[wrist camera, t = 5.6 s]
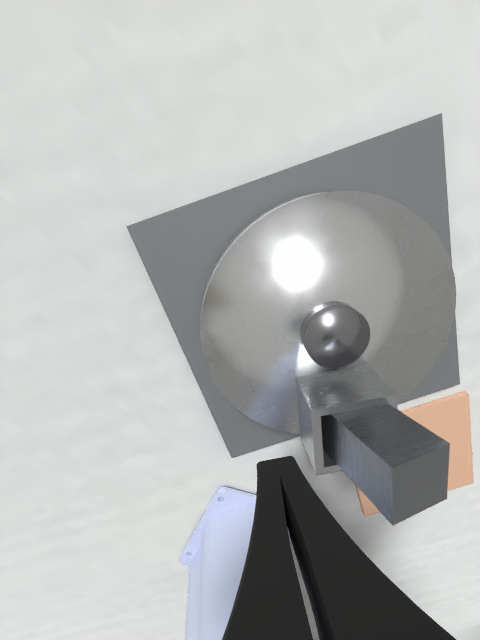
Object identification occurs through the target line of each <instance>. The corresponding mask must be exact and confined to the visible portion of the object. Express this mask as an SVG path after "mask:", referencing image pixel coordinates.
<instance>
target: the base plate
mask: <svg viewBox="0 0 480 640" xmlns="http://www.w3.org/2000/svg"><path fill="white" fill-rule="evenodd" d="M334 191H358V192H366V193H371V194H376V195H380V196H383V197H386V198H388V199H391V200H394V201H396V202H399V203H400V204H402V205H404V206H405V207H407V208H409V209H411V210H412V211H414V212H415V213H416V214H417V215H418V216H420V217H421V218H422V219H423V220H424V221H426V222H427V224H428V225H429V226H430V227H431V228H432V229H433V230H434V232H435V233H436V234H437V236H438V237H439V239H440V240H441V242H442V244H443V245H444V247H445V249H446V251H447V254H448V256H449V259H450V261H451V264H452V259H451V244H450V229H449V214H448V199H447V184H446V169H445V154H444V139H443V124H442V113H441V114H439V115H436V116H433V117H430V118H427V119H425V120H422V121H419V122H416V123H413V124H411V125H408V126H405V127H402V128H400V129H397V130H394V131H391V132H388V133H386V134H383V135H380V136H377V137H374V138H372V139H369V140H366V141H363V142H361V143H358V144H355V145H352V146H349V147H347V148H344V149H341V150H338V151H335V152H333V153H330V154H327V155H324V156H322V157H319V158H316V159H313V160H310V161H308V162H305V163H302V164H299V165H297V166H294V167H291V168H288V169H285V170H283V171H280V172H277V173H274V174H271V175H269V176H266V177H263V178H260V179H258V180H255V181H252V182H249V183H246V184H244V185H241V186H238V187H235V188H232V189H230V190H227V191H224V192H221V193H219V194H216V195H213V196H210V197H207V198H205V199H202V200H199V201H196V202H193V203H191V204H188V205H185V206H182V207H180V208H177V209H174V210H171V211H168V212H166V213H163V214H160V215H157V216H155V217H152V218H149V219H146V220H143V221H141V222H138V223H135V224H132V225H129V226H127V229H128V231H129V233H130V235H131V237H132V240H133V242H134V244H135V246H136V248H137V251H138V253H139V255H140V257H141V259H142V262H143V264H144V266H145V268H146V270H147V273H148V275H149V277H150V279H151V281H152V284H153V286H154V288H155V290H156V292H157V295H158V297H159V299H160V301H161V303H162V306H163V308H164V310H165V312H166V314H167V317H168V319H169V321H170V323H171V325H172V328H173V330H174V332H175V334H176V336H177V339H178V341H179V343H180V345H181V347H182V350H183V352H184V354H185V356H186V358H187V361H188V363H189V365H190V367H191V369H192V372H193V374H194V376H195V378H196V380H197V383H198V385H199V387H200V389H201V391H202V394H203V396H204V398H205V400H206V402H207V405H208V407H209V409H210V411H211V413H212V416H213V418H214V420H215V422H216V424H217V427H218V429H219V431H220V433H221V435H222V438H223V440H224V442H225V444H226V446H227V449H228V451H229V453H230V455H231V457H232V458H233V457H236V456H239V455H242V454H245V453H248V452H251V451H254V450H258V449H261V448H264V447H267V446H270V445H273V444H276V443H279V442H282V441H285V440H288V439H292V438H295V437H298V436H301V434H298V433H290V432H285V431H280V430H276V429H273V428H270V427H267V426H264V425H262V424H260V423H258V422H256V421H254V420H252V419H250V418H249V417H247V416H246V415H244V414H243V413H241V412H240V411H239V410H238V409H236V408H235V407H234V406H233V405H232V404H231V403H230V402H229V401H228V400H227V399H226V398H225V397H224V396H223V394H222V393H221V392H220V390H219V389H218V387H217V386H216V384H215V383H214V381H213V379H212V377H211V375H210V373H209V371H208V369H207V366H206V363H205V359H204V356H203V352H202V345H201V338H200V320H201V310H202V303H203V296H204V291H205V288H206V284H207V281H208V278H209V276H210V273H211V271H212V269H213V267H214V264H215V262H216V261H217V259H218V257H219V256H220V254H221V253H222V251H223V249H224V248H225V247H226V245H227V244H228V243H229V242H230V241H231V239H232V238H233V237H234V236H235V235H236V234H237V233H238V232H239V231H240V230H241V229H242V228H243V227H244V226H245V225H246V224H247V223H248V222H250V221H251V220H252V219H254V218H255V217H257V216H258V215H259V214H261V213H262V212H264V211H266V210H268V209H269V208H271V207H273V206H275V205H277V204H279V203H281V202H284V201H287V200H289V199H292V198H295V197H299V196H303V195H307V194H312V193H322V192H334ZM458 384H460V380H459V365H458V350H457V335H456V319H455V314H454V319H453V325H452V328H451V331H450V334H449V337H448V340H447V342H446V345H445V347H444V349H443V351H442V354H441V355H440V357H439V359H438V360H437V362H436V364H435V365H434V367H433V368H432V370H431V371H430V372H429V374H428V375H427V376H426V378H425V379H424V380H423V381H422V382H421V384H420V385H419V386H418V387H417V388H416V389H415V390H414V391H413V392H412V393H411V394H410V395H409V396H407V397H406V398H405V399H404V400H403V401H402V402H400V403H403V402H406V401H409V400H412V399H415V398H418V397H421V396H424V395H427V394H431V393H434V392H437V391H440V390H443V389H446V388H449V387H452V386H455V385H458ZM400 403H399V404H400Z"/></svg>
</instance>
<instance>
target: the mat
mask: <svg viewBox="0 0 480 640" xmlns="http://www.w3.org/2000/svg"><path fill="white" fill-rule="evenodd" d="M401 412H402V413H403V414H405V415H407V416H408V417H410V418H411V419H413V420H414V421H416V422H417V423H419V424H421V425H422V426H424V427H425V428H427V429H428V430H430V431H431V432H433V433H435V434H436V435H438V436H439V437H441V438H442V439H444V440H445V441H447V442H449V443H450V453H449V470H448V488H447V491H449V490H452V489H456V488H459V487H462V486H465V485H469V484H472V483H474V482H473V464H472V445H471V427H470V408H469V394H468V393H467V392H465V391H463V392H460V393H457V394H454V395H451V396H448V397H445V398H441V399H438V400H435V401H432V402H429V403H426V404H423V405H420V406H417V407H414V408H410V409H407V410H404V411H401ZM356 487H357V491H358V495H359V499H360V503H361V507H362V511H363V513H364V516H369V515H372V514H375V513H378V512H380V511H379V510H378V509H377V507H376V506H375V505H374V504H373V503H372V502H371V501H370V500H369V499H368V498H367V496H366V495H365V494H364V493H363V492H362V491H361V490H360V489H359V488H358V486H357V485H356Z"/></svg>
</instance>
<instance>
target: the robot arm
mask: <svg viewBox="0 0 480 640" xmlns="http://www.w3.org/2000/svg"><path fill="white" fill-rule="evenodd" d="M289 534H290V538H291V541H292V544H293V547H294V551H295V554H296V557H297V560H298V564H299V567H300V570H301V573H302V577H303V580H304V583H305V586H306V590H307V593H308V596H309V599H310V603H311V606H312V610H313V614H314V617H315V622H316V626H317V630H318V634H319V639H320V640H456V639H455V638H454V637H453V636H451V635H450V634H449V633H448V632H447V631H446V630H444V629H443V628H442V627H441V626H440V625H438V624H437V623H436V622H435V621H434V620H433V619H432V618H431V617H429V616H428V615H427V614H426V613H425V612H424V611H423V610H422V609H420V608H419V607H418V606H417V605H416V604H415V603H414V602H413V601H412V600H411V599H410V598H408V597H407V596H406V595H405V594H404V593H403V592H402V591H401V590H400V589H399V588H398V587H397V586H396V585H395V584H394V583H393V582H392V581H391V580H390V579H389V578H388V577H387V576H385V575H384V574H383V573H382V572H381V570H380V569H379V568H378V567H377V566H376V565H375V564H374V563H373V562H372V561H371V560H370V559H369V558H368V557H367V556H366V555H365V554H364V553H363V551H362V550H361V549H360V548H359V547H358V546H357V545H356V544H355V543H354V541H353V540H352V539H351V538H350V537H349V536H348V535H347V533H346V532H345V531H344V530H343V529H342V527H341V526H340V525H339V524H338V522H337V521H336V520H335V519H334V517H333V516H332V515H331V514H330V512H329V511H328V510H327V508H326V507H325V506H324V504H323V503H322V502H321V500H320V499H319V497H318V496H317V495H316V493H315V492H314V490H313V489H312V487H311V486H310V484H309V483H308V481H307V480H306V478H305V477H304V475H303V473H302V472H301V470H300V468H299V466H298V464H297V463H296V461H295V458H294V457H292V456H287V457H282V458H277V459H272V460H266V461H261V462H259V463H258V464H257V495H255V494H251V493H247V492H243V491H239V490H236V489H232V488H228V487H220V488H219V489H218V490H217V492H216V493H215V495H214V497H213V499H212V500H211V502H210V504H209V506H208V508H207V509H206V511H205V513H204V515H203V516H202V518H201V520H200V522H199V524H198V525H197V527H196V529H195V531H194V532H193V534H192V536H191V538H190V540H189V541H188V543H187V545H186V547H185V548H184V550H183V552H182V554H181V556H180V563H182V564H185V565H190V567H189V583H188V599H187V615H186V632H185V640H313V638H312V634H311V630H310V626H309V622H308V618H307V614H306V610H305V606H304V602H303V598H302V593H301V589H300V585H299V581H298V577H297V573H296V569H295V564H294V560H293V556H292V552H291V548H290V542H289Z"/></svg>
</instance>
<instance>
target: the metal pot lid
mask: <svg viewBox="0 0 480 640" xmlns="http://www.w3.org/2000/svg"><path fill="white" fill-rule="evenodd" d="M455 306H456V286H455V277H454V273H453V269H452V264H451V261H450V259H449V256H448V254H447V251H446V249H445V247H444V245H443V244H442V242H441V240H440V239H439V237H438V236H437V234H436V233H435V232H434V230H433V229H432V228H431V227H430V226H429V225H428V224H427V222H426V221H424V220H423V219H422V218H421V217H420V216H418V215H417V214H416V213H415V212H414V211H412V210H411V209H409V208H407V207H405V206H404V205H402V204H400V203H399V202H396V201H394V200H391V199H388V198H386V197H383V196H380V195H376V194H371V193H366V192H358V191H334V192H322V193H312V194H307V195H303V196H299V197H295V198H292V199H289V200H287V201H284V202H281V203H279V204H277V205H275V206H273V207H271V208H269V209H268V210H266V211H264V212H262V213H261V214H259V215H258V216H257V217H255V218H254V219H252V220H251V221H250V222H248V223H247V224H246V225H245V226H244V227H243V228H242V229H241V230H240V231H239V232H238V233H237V234H236V235H235V236H234V237H233V238H232V239H231V241H230V242H229V243H228V244H227V245H226V247H225V248H224V249H223V251H222V253H221V254H220V256H219V257H218V259H217V261H216V262H215V264H214V267H213V269H212V271H211V273H210V276H209V278H208V281H207V284H206V288H205V291H204V296H203V303H202V310H201V320H200V338H201V345H202V352H203V356H204V359H205V363H206V366H207V369H208V371H209V373H210V375H211V377H212V379H213V381H214V383H215V384H216V386H217V387H218V389H219V390H220V392H221V393H222V394H223V396H224V397H225V398H226V399H227V400H228V401H229V402H230V403H231V404H232V405H233V406H234V407H235V408H236V409H238V410H239V411H240V412H241V413H243V414H244V415H246V416H247V417H249V418H250V419H252V420H254V421H256V422H258V423H260V424H262V425H264V426H267V427H270V428H273V429H276V430H280V431H285V432H290V433H298V434H301V438H302V440H303V443H304V446H305V448H306V451H307V454H308V456H309V459H310V462H311V464H312V467H313V470H314V472H315V475H322V474H327V473H333V472H338V471H343V470H342V469H341V468H340V467H339V465H338V464H337V463H336V462H335V461H334V460H333V459H332V458H331V457H330V456H329V454H328V453H327V452H326V451H325V450H324V449H323V444H322V427H321V416H324V415H330V414H335V413H341V412H346V411H352V410H358V409H363V408H369V407H375V406H380V405H386V404H389V405H391V406H393V407H394V408H396V409H397V404H399V403H400V402H402V401H403V400H404V399H405V398H406V397H407V396H409V395H410V394H411V393H412V392H413V391H414V390H415V389H416V388H417V387H418V386H419V385H420V384H421V382H422V381H423V380H424V379H425V378H426V376H427V375H428V374H429V372H430V371H431V370H432V368H433V367H434V365H435V364H436V362H437V360H438V359H439V357H440V355H441V354H442V351H443V349H444V347H445V345H446V342H447V340H448V337H449V334H450V331H451V328H452V325H453V319H454V314H455Z"/></svg>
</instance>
